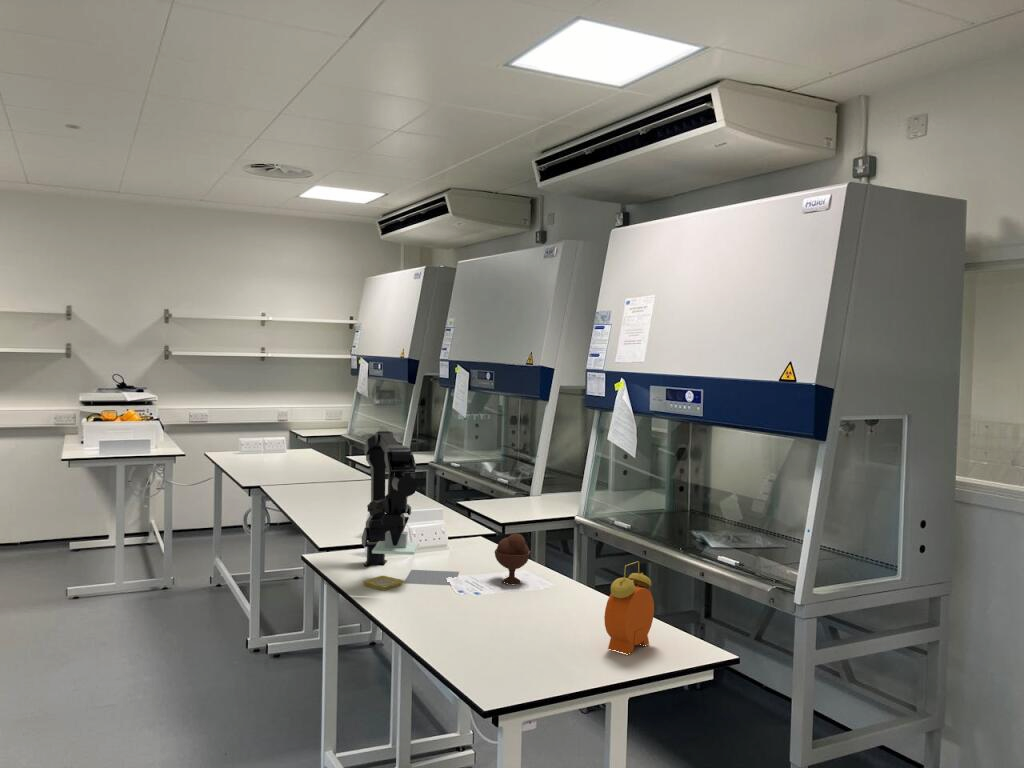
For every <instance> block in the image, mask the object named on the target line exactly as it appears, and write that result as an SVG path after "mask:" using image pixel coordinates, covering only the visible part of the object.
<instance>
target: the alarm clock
mask: <svg viewBox="0 0 1024 768" xmlns="http://www.w3.org/2000/svg"><path fill="white" fill-rule="evenodd" d="M636 563H638V565H637V566H638V567H637V572H632V573H630V575H629V576H628V577H626V571H627V570H626V569H627V566H630V565H634V564H636ZM623 574H624V575H623V577H619V578H616V579H615V580H614V581H612V583H611V585H610V595H609V596H608V599H607V602H606V605H605V610H604V615H603V616H604V617H603V618H604V627H605V631H606V633H607V635H608V636H609V637H610V639H609V643H608V648H607V650H608V649H611V650H616V651H619V652H623V653H626V654H629V653H631V652H632V653H633V652H634V649H635V646H640V645H639V644H641V645H644V646H645V645H647V644H649V645H650V641H649V636H648V635H649V632H650V630H651V628H652V624H653V620H654V614H655V602H654V598H653V594H652V592H651V591H650V590H649V589H648V588H652V580H651V579H650V578H649V577H648V576H647V575H645V574H644V572H640V561H638V560H637V561H635V562H632V563H629V564H625V566H624V573H623ZM644 646H643V647H644Z"/></svg>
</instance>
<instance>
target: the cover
mask: <svg viewBox="0 0 1024 768" xmlns="http://www.w3.org/2000/svg"><path fill="white" fill-rule="evenodd" d="M408 534H409V533H408V531H403V532H402V534H401V536H400V539H399V541H398V544H397V545H396V546H394V545H393V543H392V538H391V533H390V531H387V532H386V533H385V541H379V542H378V543H377V544H376V546H375V547H374V549H373V550H372V553H377V554H385V555H410V556H411V555H412V556H415V555H416V551H417V550H418V548H419V546H420V542H419V541H408V538H409V537H408Z"/></svg>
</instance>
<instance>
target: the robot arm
mask: <svg viewBox="0 0 1024 768" xmlns="http://www.w3.org/2000/svg"><path fill="white" fill-rule="evenodd" d="M363 448H364V449H363V452H364V456H365V460H366V462H367V464H368V465H369V467H370V502H369V503H368V504H367V505H366V506H367V512H369V513H368V514H369V516H368V518H367V519H366V521H365V527H364V528H363V531H362V535H361V545H362V546H363V547H364V548H366V561H365V562H364V563H363V566H364V567H371V566H378V567H380V566H381V567H383V566H385V565H386V564H387V562H388V560H387V559H386V558H385V557H386V554H377V553H372V550H373V549H374V547H375V546H376V544H377V543H378V542H379V541H385V533H386V532H387V531H390V533H391V538H392V543H393V545H394V546H396V545H397V544H398V541H399V539H400V536H401V534H402V532H405V528H406V526H407V523H408V521H409V519H410V517H409V516H410V515H411V514H412V506H410V504H408V497H410V496H413V495H414V494H415V493H416V491H417V489H418V483H417V481H416V479H415V478H414V476H413V477H412V476H411V475H412V473H416V468H417V464H416V460H415V456H414V454H413V452H412V450H411V449H410V447H408V446H406V445H401V444H400V443H399V442H398V441H397V440H396V438H395V437H394V433H393V431H390V430H378V431H376V432H375V433H374V435H372V436H370V437H369V438H367V439H366V441H365V444H364V447H363ZM386 471H387V473H388V476H387V494H386ZM405 514H407V515H408V516H405Z"/></svg>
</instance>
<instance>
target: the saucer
mask: <svg viewBox="0 0 1024 768" xmlns="http://www.w3.org/2000/svg"><path fill="white" fill-rule="evenodd" d="M382 581H384V582H388V583H390V584H387V585H385V586H383V585H380V584H379V585H378V584H375V583H378V582H382ZM362 583H363V585H364V586H366V587H369V588H374V589H378V590H382V591H386V590H389V589H391V588H395V587H398V586H401V585H403V584H404V579H400V578H396V577H395V578H394V577H391V576H387V575H379V576H376V577H373V578H370V579H366V580H363V581H362Z"/></svg>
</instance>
